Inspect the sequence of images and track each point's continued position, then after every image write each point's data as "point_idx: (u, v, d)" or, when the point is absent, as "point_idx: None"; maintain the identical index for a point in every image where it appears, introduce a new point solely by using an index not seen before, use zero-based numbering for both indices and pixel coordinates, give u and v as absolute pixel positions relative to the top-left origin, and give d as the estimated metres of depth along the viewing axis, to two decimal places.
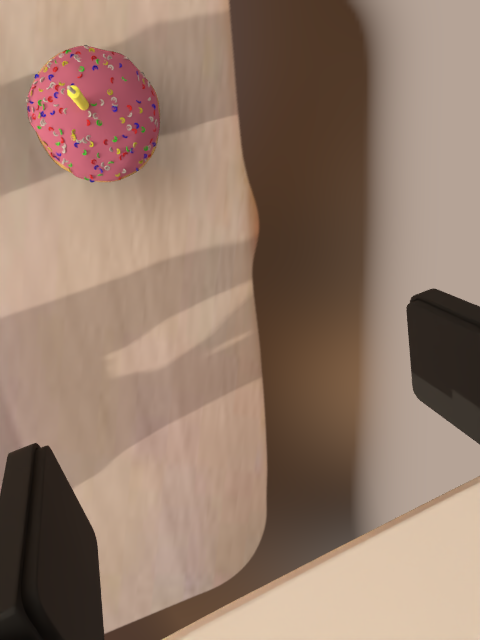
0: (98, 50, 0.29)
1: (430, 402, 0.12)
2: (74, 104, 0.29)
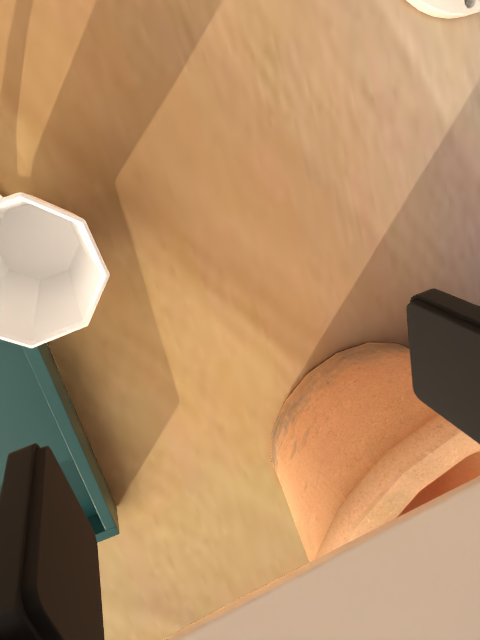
0: None
1: (430, 402, 0.12)
2: None
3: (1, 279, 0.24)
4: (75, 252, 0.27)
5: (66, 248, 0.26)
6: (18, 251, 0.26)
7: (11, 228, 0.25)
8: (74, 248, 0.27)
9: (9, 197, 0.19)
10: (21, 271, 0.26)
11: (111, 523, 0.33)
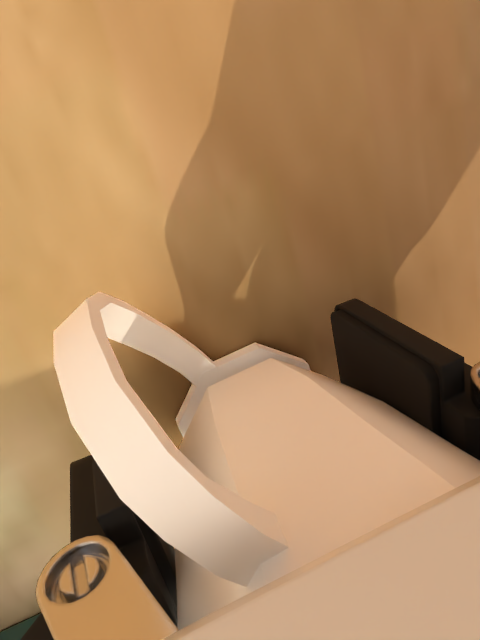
0: None
1: None
2: None
3: None
4: None
5: None
6: None
7: None
8: None
9: None
10: None
11: None
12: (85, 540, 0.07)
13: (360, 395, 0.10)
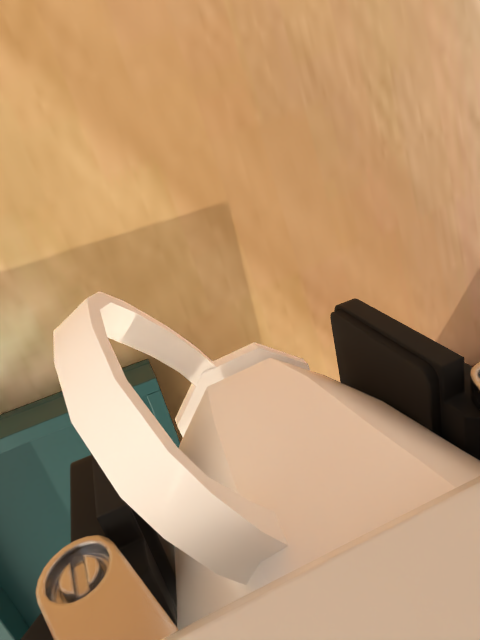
0: None
1: None
2: None
3: None
4: None
5: None
6: None
7: None
8: None
9: None
10: None
11: None
12: (85, 540, 0.07)
13: (359, 394, 0.10)
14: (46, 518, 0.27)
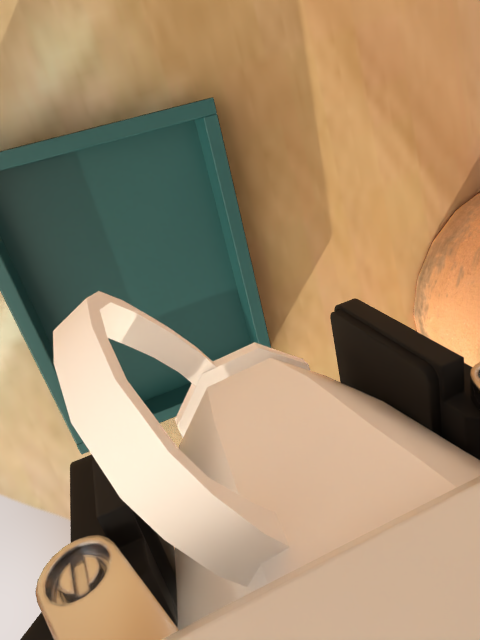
0: None
1: None
2: None
3: None
4: None
5: None
6: None
7: None
8: None
9: None
10: None
11: None
12: (85, 540, 0.07)
13: (360, 395, 0.10)
14: (95, 268, 0.27)
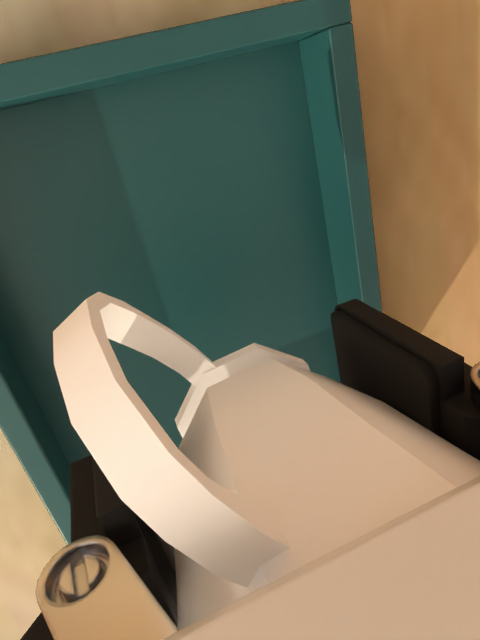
0: None
1: None
2: None
3: None
4: None
5: None
6: None
7: None
8: None
9: None
10: None
11: None
12: (85, 540, 0.07)
13: (360, 395, 0.10)
14: (124, 298, 0.16)
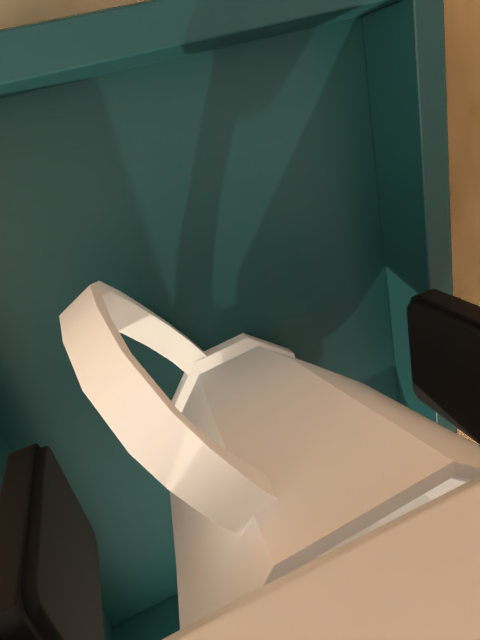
0: None
1: (430, 402, 0.12)
2: None
3: None
4: None
5: None
6: None
7: None
8: None
9: (428, 484, 0.06)
10: None
11: None
12: None
13: (341, 376, 0.11)
14: (137, 345, 0.13)
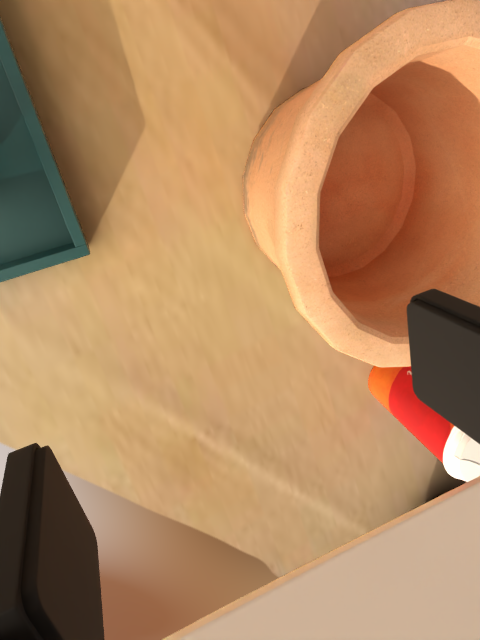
0: None
1: (430, 402, 0.12)
2: None
3: None
4: None
5: None
6: None
7: None
8: None
9: None
10: None
11: (81, 239, 0.33)
12: None
13: None
14: None
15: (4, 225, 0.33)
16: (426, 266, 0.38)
